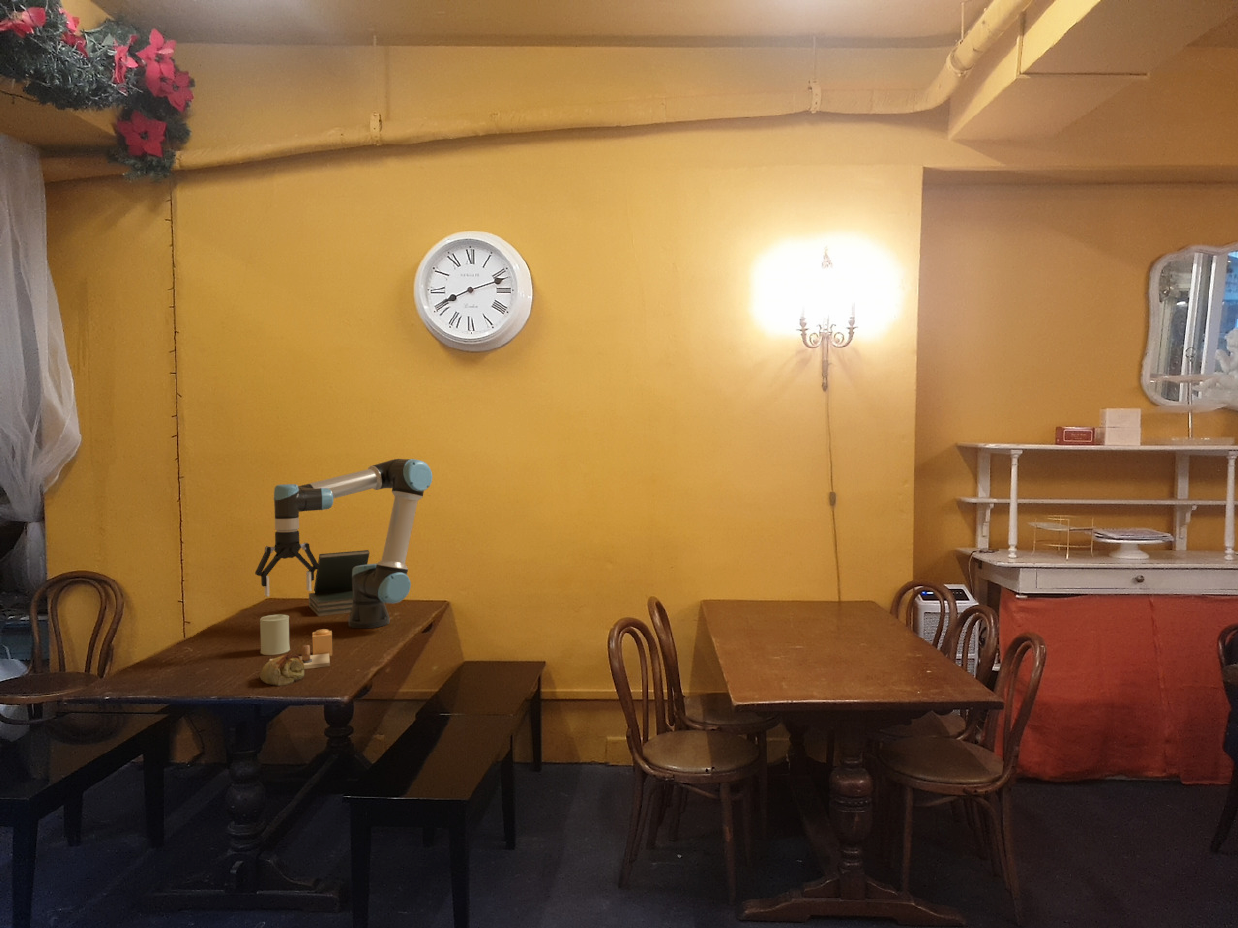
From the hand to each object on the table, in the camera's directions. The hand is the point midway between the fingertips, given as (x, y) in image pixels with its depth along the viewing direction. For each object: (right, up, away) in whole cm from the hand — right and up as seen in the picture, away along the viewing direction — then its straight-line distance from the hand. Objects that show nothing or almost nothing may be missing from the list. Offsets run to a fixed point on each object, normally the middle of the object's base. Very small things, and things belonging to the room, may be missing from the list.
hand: (288, 593), depth 269 cm
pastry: (+10, -22, -28) cm, 37 cm away
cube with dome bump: (+12, -20, -2) cm, 24 cm away
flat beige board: (+9, -21, -14) cm, 26 cm away
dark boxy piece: (-4, -17, +65) cm, 67 cm away
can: (-5, -20, +2) cm, 21 cm away
